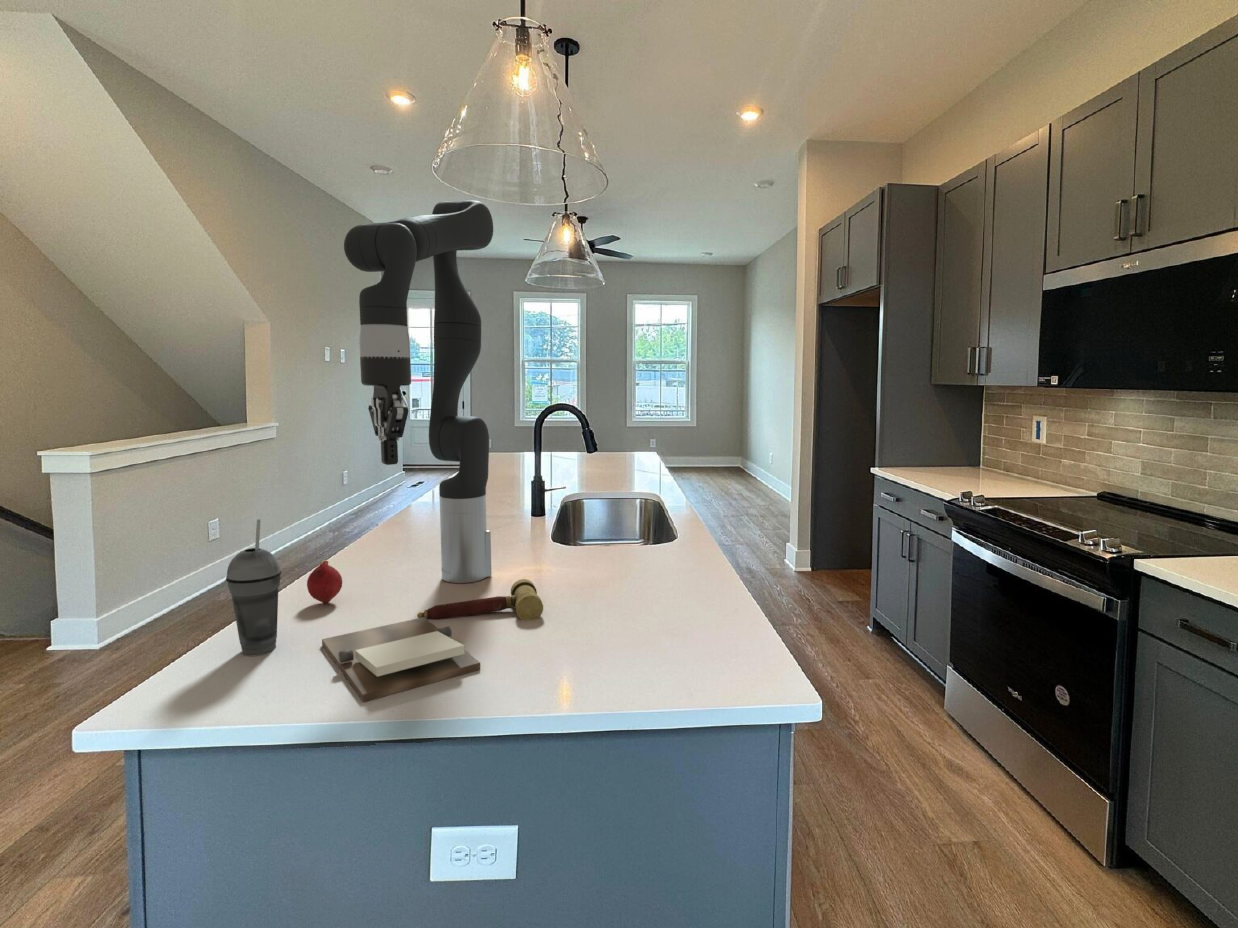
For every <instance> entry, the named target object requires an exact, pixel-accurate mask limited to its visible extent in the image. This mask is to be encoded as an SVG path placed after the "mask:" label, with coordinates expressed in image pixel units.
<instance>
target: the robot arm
mask: <svg viewBox="0 0 1238 928" xmlns="http://www.w3.org/2000/svg"><path fill="white" fill-rule="evenodd" d="M493 235H494V222H493V216H492V213H491V211H490V210H489V208H488V206H487V205H486V204H485V203H483V202H481V201H479V200H472V199H470V200H469V199H468V200H467V199H466V200H448V201H440V202H437V203H436V204H435V205H434V207H433V209H432V212H431V214H422V215H421V214H420V215H415V216H408V217H407V216H406V217H404V218H400V219H399V218H398V219H396V220H393V221H387V222H373V223H372V222H371V223H363V224H358V225H355V226H353V227H352V228H350V229H349V231H348V232H347V233H346V235H345V237H344V240H343V242H344V243H343V249H344V250H343V251H344V254H345V257H346V258H347V260H348V262H349V263H350V264H351V265H352V266H353V267H354V268H356V269H357V270H360V271H362V272H366V273H376V272H382V273H383V274H382V276H381V279H380V281H378V282H377V283H375V284H373V285H370V286H367V287H365V288H362V290H361V291H360V293H359V299H358V302H359V303H358V305H359V323H360V326H359V329H360V331H359V339H358V340H359V342H358V344H359V364H360V365H359V366H360V383H361V385H363V386H366V387H367V386H372V387H373V394H372V397H371V400H370V402H371V403H370V404H369V405H368V407H367V408H368V412H369V415H370V419H371V423H372V427H373V431H374V435H375V437H377V438H378V441H380V454H381V455H380V456H381V457H380V458H381V463H382V464H384V465H385V466H391V465H397V464H398V463H399V452H398V451H399V450H398V448H399V447H398V441H399V440H400V438H403V436H404V431H405V428H406V424H407V419H408V414H409V408H408V406H405V405H404V398H403V397H402V396H403V395H402V392H401V390H402V389H401V386H405V387H406V386H408V387H409V386H410V385H411V384H412V367H411V343H410V334H409V328H408V305H407V303H408V302H407V301H408V298H409V296H408V295H409V292H410V287H411V283H412V279H413V274H414V271H415V266H416V262H417V263H418V262H419V261H423V260H426V259H428V258H432V259H433V270H434V314H433V316H434V317H433V379H432V380H433V381H432V382H433V383H432V384H433V385H432V396H431V405H430V414H429V423H428V424H429V425H428V444H429V445H428V446H429V449H430V452H431V454H432V455H433V457H434V458H435V459H437V460H439V461H443V462H458V463H459V465H458V466H459V468H458V472H457V473H456V474H455V475H454V476H452V477H448V478H446V479H443V480H442V481H441V482H439V486H438V490H439V491H438V492H439V517H440V518H439V521H440V523H439V524H440V554H441V555H440V557H441V559H440V561H441V578H442V580H443V581H444V582H447V583H453V584H454V583H455V584H466V583H467V584H469V583H475V582H478V581H481V580H484V579H486V578H488V577H492V536H491V535H492V534H491V533H492V532H491V531H490V530H489V529H487V526H488V525H487V484H488V480H489V463H490V462H489V461H490V460H489V458H490V434H489V429H488V425H487V424H486V422H485V421H484V420H483V419H482V418H481V417H478V416H470V415H469V416H468V415H466V416H465V415H458V414H459V412H458V410H459V409H458V408H459V401H460V400H459V399H460V394H461V390H462V389H463V387H464V384H465V383H466V380H467V378H468V377H469V375H470V374H471V371H472V370H473V368H474V367H475V365H476V363H477V361H478V359H479V356H480V353H481V349H482V317H481V313H480V311H479V309H478V307H477V306H476V304H475V302H474V300H473V299H472V297H471V296H470V294H469V292H468V290H467V288H466V287H465V285H464V283H463V282H462V279H461V277H460V274H459V269H458V263H457V261H458V260H457V253H458V252H457V251H477V250H482V249H485V248H487V246H489V245H490V243H491V242H492V239H493Z"/></svg>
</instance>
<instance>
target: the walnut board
mask: <svg viewBox="0 0 1238 928" xmlns="http://www.w3.org/2000/svg"><path fill="white" fill-rule="evenodd" d="M436 631H438V632H440V633H442V634H444V635H446V636H448V637H449V638H452V634H453V633H452V629H451V626H445V627H440V628H439V627H437V626H436V625H435V624H433V623H432V622H431V621H430V620H429V619H426V618H425V617H422V618H418V617H416V618H414V619H413V618H412V619H410V620H409V619H408V620H404V621H399V622H395V623H390V624H386V625H381V626H380V625H379V626H377V627H372V628H367V629H361V630H358V631H353V632H349V633H345V634H340V635H335V636H332V637H331V636H330V637H326V638H322V639H321V643H322V644H321V645H322V647H323V648H324V650H325V652H327V654H328V656H329V657H330V659H331V660H332V661H333V662H334V663H335V665H336V667H337V668H338V669H339V670H340V672H341V673H342V675H343V677H345V679H346V680H347V683H349V685H351V687H352V688H353V690H354V691H355V693H356V694H357V695H358V697H359V698H360V700H361V701H362V702H363V703H365V702H369V701H372V700H373V701H374V700H375V699H376V700H377V699H379V698H383V697H386V696H390V695H394V694H397V693H400V692H404V691H408V690H411V689H415V688H420V687H422V686H425V685H429V684H433V683H436V682H440V681H443V680H448V679H451V678H455V677H458V676H462V675H464V674H469V673H471V672H472V673H473V672H475V671H479V670H481V662H480V661H479V660H478V659H477V658H475V657H474V656H473V655H472V654H470V652H468V651H466V649H464V652H465V654H462V655H458V656H455V657H451V658H447V659H443V660H439V661H436V662H432V663H428V664H424V665H420V666H416V667H413V668H409V669H405V670H401V671H397V672H393V673H390V674H386V675H382V676H378V677H377V676H376V675H374V674H373V673H372V672H371V671H370V670H369V669H367V668H366V667H365V666H364V665H363V664H362V663H360V662H359V661H358V660H357V659H356V653H355V650H358V649H363V648H367V647H371V646H375V645H380V644H384V643H388V642H393V641H397V640H401V639H405V638H410V637H414V636H418V635H423V634H427V633H431V632H436Z"/></svg>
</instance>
